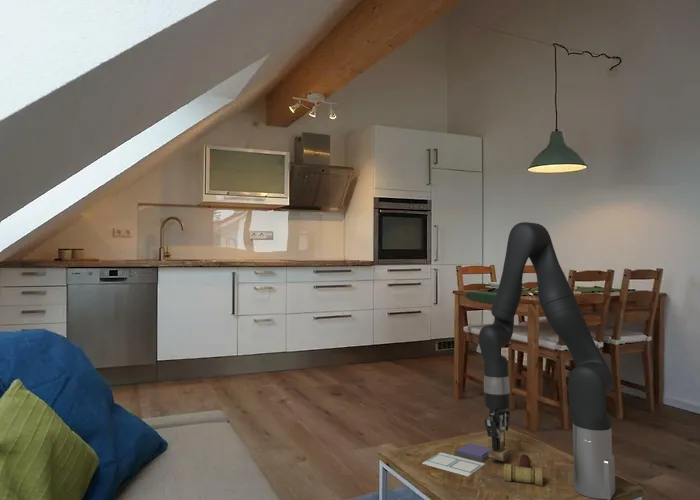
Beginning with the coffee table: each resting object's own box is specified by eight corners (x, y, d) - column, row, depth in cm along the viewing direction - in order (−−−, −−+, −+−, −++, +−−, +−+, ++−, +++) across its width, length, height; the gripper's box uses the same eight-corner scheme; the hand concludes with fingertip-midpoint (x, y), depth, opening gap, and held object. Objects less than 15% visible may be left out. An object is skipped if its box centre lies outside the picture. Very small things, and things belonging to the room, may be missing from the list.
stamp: (509, 456, 152) (508, 425, 152) (503, 461, 148) (502, 429, 149) (495, 453, 155) (493, 423, 155) (488, 457, 151) (487, 426, 152)
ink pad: (494, 453, 160) (494, 448, 160) (482, 461, 153) (482, 456, 153) (468, 447, 166) (468, 442, 166) (455, 455, 159) (455, 449, 159)
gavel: (508, 446, 158) (542, 450, 155) (508, 461, 158) (542, 465, 154) (503, 466, 139) (542, 471, 135) (503, 483, 138) (542, 489, 135)
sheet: (485, 464, 151) (484, 463, 151) (468, 476, 142) (468, 475, 142) (440, 453, 160) (440, 452, 160) (422, 463, 152) (422, 462, 152)
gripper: (499, 396, 145) (501, 457, 144) (517, 387, 156) (519, 444, 155) (474, 393, 150) (476, 452, 149) (494, 384, 160) (496, 439, 160)
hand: (498, 448), depth 152 cm, fingers closed on stamp, 3 cm apart
